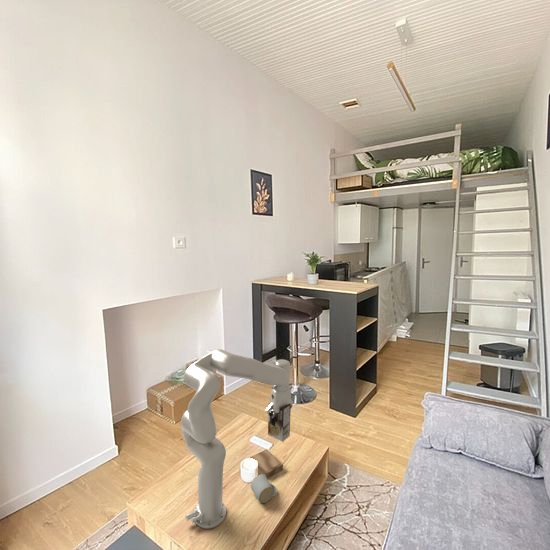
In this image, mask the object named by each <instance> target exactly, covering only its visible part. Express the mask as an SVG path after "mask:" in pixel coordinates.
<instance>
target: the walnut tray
mask: <svg viewBox="0 0 550 550" xmlns="http://www.w3.org/2000/svg"><path fill="white" fill-rule="evenodd" d="M250 458H253V459H255V460H257V461H258V471H259V472H258V471H257V472H258V473H259V475H260V474H263V475H265V476H266V477H267V479H268V480H269V479H270V478H271V477H273V476H275V475H277V474H278V473H280V472H282V471H283V470H284V469H283V468H284V464H283V463H282V462H281V461H280V460H279V459H278V458H277V457H276V456H275V455H273V453H271V451H269V450H268V449H264V450H263V451H262V450H261V452H258V453H257V454H254V455H252V456H250Z"/></svg>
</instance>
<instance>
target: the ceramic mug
mask: <svg viewBox="0 0 550 550" xmlns="http://www.w3.org/2000/svg"><path fill="white" fill-rule="evenodd" d="M250 484H251V485H250V488H251V489H250V490H252V492H253V493H254V496H255V497H256V499H257V501H258V502H259V503H261V504H266V503H268V502H269V501H270V500H272V498H273V497H276V496H277V494H278V489H277V487H276V486H275V485H274V484H272V483H270V481H269V478H268V479H267V477H266V476H265V475H263V474H260V473H259V474H258V475H256V476H255V477H254V478H253V479H252V481H251V482H250Z"/></svg>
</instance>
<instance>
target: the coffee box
mask: <svg viewBox="0 0 550 550" xmlns="http://www.w3.org/2000/svg"><path fill="white" fill-rule="evenodd" d="M269 405H270V402H269V403H268V406H269ZM272 408H273V407H272ZM291 410H292V408H291V404H288V405H285V406H284V407H281V408H280V412H279V413H276V414H275V416H274V417H275V425H274V426H273V425H272V424H270V416H269V415H267V416H268V417H267V418H268V419H267V421H268V422H267V423H268V424H267V435H268V436H270V437H272V438H274V439H276V440H278V441H281V442H285V440H287V439H288V438H289V437H290V435H291ZM270 411H271V410H270ZM273 413H274V412H273ZM273 413H272V414H273Z"/></svg>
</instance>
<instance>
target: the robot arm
mask: <svg viewBox="0 0 550 550" xmlns="http://www.w3.org/2000/svg"><path fill="white" fill-rule="evenodd" d="M215 371H216V372H217V373H219V374H221V375H224V376H227V377H230V378H231V377H232V378H239V379H246V380H250V381H253V382H257V383H262V384H265V385H271V392H270V393H271V394H270V398H269V399H270V401H269V403H270V405H269V404H268V407H266V409H265V412H266V414H268V415H269V416H270V424H272V425H273V426H274V425H275V417H274V416H275V414H276V413H279V412H280V408H281V407H284V406H285V405H288V404H291V409H292V408H293V405H294V403H295V401H294V400H293V399H292V391H291V387H290V378H291V363H290V361H289V360H287V359H283V358H281V359H277V360H275V361H266V362H262V361H260V360H257V359H255V358H253V357H252V358H251V357H247V356H243V355H237V354H234V353H231V352H230V351H229V352H228V351H227V350H224V349H220V348H219V349H215V350H213V351H211V352H209V353H207V354H206V355H204V356H202V357H201V358H199V359H198V360H196V361H195V362H193V363H191V364H190V365H189V366H188V368H187V369H186V370H185V372H184V374H183V379H184V382H185V384H186V385H187V386H188V387H189V388H191V389H193V390H194V391H196V392H195V394H194V395H193V396H192V398H191V400H189V403H188V404H187V409H186V410H185V411H184V413H182V416H181V419H180V430H181V432H182V435H183V439H184V442H185V445H186V448H187V450H188V451H189V452H190V453H191V454H192V455H194V456H195V458H196V459H197V460H198V461H199V462H200V464H201V467H200V468H199V470H198V473H197V504H195V507H194V509H193V511H191V512H189V513H186V514H185V520H186V522H188V521H189V520H191V523H192V524H194V523H195V525H196V526H198V527H199V528H202V529H214V528H215V527H219V525H221V524H222V522H224V520H225V519H226V516H227V507H226V505H225V504H224V502H223V490H224V489H223V486H224V485H223V484H224V482H223V481H224V479H223V478H224V465H225V464H224V463H225V459H226V456H227V449H226V447H225V445H224V444H223V442H222V441H221V440H220V439H219V438H217V436H216V435H217V424H216V421H215V416H214V414H213V410H212V409H213V408H212V403H213V401H214V399H215V398H216V396H217V394H218V393H219V392H220V389H221V379H220V377H219V376H218V375H217V374H216V373H215ZM272 407H273V408H272ZM270 410H271V411H270ZM273 412H274V413H273ZM272 413H273V414H272ZM268 415H267V416H268Z"/></svg>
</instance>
